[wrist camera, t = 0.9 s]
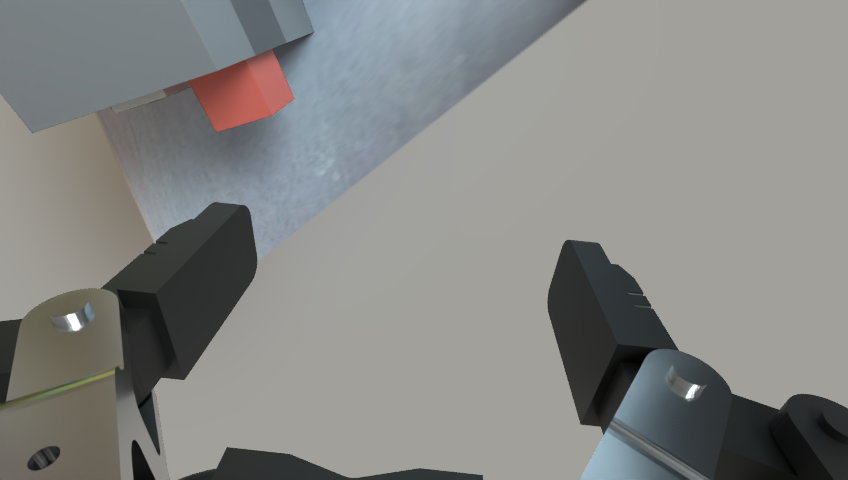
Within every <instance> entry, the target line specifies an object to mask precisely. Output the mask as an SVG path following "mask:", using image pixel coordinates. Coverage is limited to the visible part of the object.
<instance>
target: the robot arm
mask: <svg viewBox="0 0 848 480" xmlns="http://www.w3.org/2000/svg"><path fill="white" fill-rule="evenodd" d="M256 268H257V253H256V247H255V240H254V234H253V227H252V221H251V215H250V211H249V209H248V208H247V207H246V206H245V205H236V204H227V203H217V202H214V203H212V204H210V205H209V206H208V207H207V208H206V209H205V210H204V211H203V212H202V213H200V214H199V215H198V216H197V217H196V218H195V219H194V220H193V219H190V220H188V221H186V222H184V223H182V224H179V225H177V226H175V227H173V228H171V229H169V230H168V231H167V232H166V233H165V234H164V235H162V236H161V237H160V238H159V239H158V240H157V241H156V244H154V243H153V244H152V245H151V246H150V247H148V248H147V249H146V250H145V251H144V254H140V255H139V256H138V257H137V258H136V259H134V260H133V261H132V262H131V263H130V264H129V265H127V266H126V267H125V268H124V269H123V270H122V271H120V272H119V273H118V274H117V275H116V276H115V277H113V278H112V279H111V280H110V281H109V282H108V283H107V284H105V285H104V286H103V287H102V288H101V289H97V288H91V289H90V288H89V289H80V290H75V291H70V292H67V293H63V294H61V295H58V296H55V297H53V298H51V299H48V300H46V301H45V302H43V303H41V304H39V305H38V306H36V307H35V308H33V309H32V310H31V311H30V312H29V313H28V314H27V315H26V316H25V317H24V318H23V319H19V320H9V321H1V322H0V480H170V478H169V473H168V469H167V463H166V456H165V450H164V443H163V437H162V430H161V423H160V417H159V410H158V404H157V397H156V394H155V391H154V389H153V388H154V386H155V385H156V384H157V382H158V381H159V379H160V378H171V379H180V380H184V379H185V378H186V377H187V375H188V374H189V372H190V371H191V369H192V368H193V367H194V365H195V363H196V362H197V361H198V359H199V358H200V356H201V355H202V353H203V352H204V350H205V349H206V347H207V346H208V345H209V343H210V341H211V340H212V339H213V337H214V336H215V334H216V333H217V331H218V330H219V329H220V327H221V326H222V324H223V323H224V321H225V320H226V318H227V317H228V315H229V314H230V312H231V311H232V310H233V308H234V307H235V305H236V304H237V302H238V301H239V299H240V298H241V296H242V295H243V293H244V292H245V290H246V289H247V287H248V286H249V285H250V283H251V282H252V280H253V278H254V275H255V273H256ZM548 312H549V316H550V320H551V323H552V326H553V330H554V333H555V337H556V340H557V344H558V347H559V351H560V354H561V358H562V361H563V365H564V368H565V372H566V375H567V378H568V381H569V385H570V389H571V392H572V396H573V399H574V403H575V406H576V410H577V413H578V417H579V420H580V423H581V424H582V425H591V426H600V427H601V429H602V432H603V435H604V436H603V438H602V439H601V441H600V443H599V445H598V447H597V449H596V451H595V453H594V454H593V456H592V458H591V460H590V462H589V464H588V465H587V467H586V469H585V471H584V473H583V475H582V477H581V478H580V480H848V409H847V408H846V407H844V406H842V405H840V404H838V403H836V402H833V401H831V400H828V399H825V398H822V397H819V396H815V395H809V394H797V395H794V396H792V397H791V398H789V399H788V400H787V402H786V403H785V404H784V405H783V406H782V408H781V409H780V410H778V409H775V408H772V407H769V406H766V405H763V404H760V403H758V402H755V401H752V400H749V399H746V398H743V397H740V396H737V395H734V394H732V393H731V390H730V388H729V386H728V385H727V383H726V382H725V380H724V379H723V378H722V377H721V376H720V375H719V374H718V373H717V372H716V371H715V370H714V369H713V368H711V367H710V366H709V365H707V364H706V363H704V362H703V361H701V360H699V359H698V358H696V357H694V356H691V355H689V354H686V353H684V352H681V351H679V350H678V348H677V347H676V345H675V344H674V342H673V340H672V339H671V337H670V335H669V334H668V332H667V330H666V329H665V327H664V326H663V324H662V322H661V321H660V319H659V317H658V316H657V314H656V313H655V311H654V310H653V309H651V304H650V303H649V301H648V300H647V298H646V296H643V292H642V290H641V288H640V287H639V285H638V283H637V282H636V281H635V279H634V278H633V277H632V276H631V275H630V274H628V273H627V272H626V271H625V270H624V269H623V268H621V267H620V266H619V265H616V264H611V263H610V261H609V260H608V258H607V256H606V254H605V253H604V251H603V249H602V247H601V246H600V244H599V243H593V242H584V241H575V240H567V241H565V243H564V244H563V246H562V249H561V253H560V256H559V259H558V262H557V265H556V269H555V272H554V275H553V278H552V282H551V285H550V288H549V293H548ZM179 480H483V475H476V474H466V473H457V472H448V471H439V470H430V469H412V470H406V471H400V472H393V473H387V474H381V475H374V476H368V477H361V478H348V477H345V476H342V475H340V474H337V473H335V472H332V471H330V470H327V469H325V468H322V467H320V466H317V465H315V464H312V463H310V462H308V461H305V460H303V459H300V458H298V457H295V456H293V455H290V454H284V453H274V452H265V451H255V450H247V449H238V448H228V447H227V448H226V451H225V452H224V455H223V457H222V459H221V461H220V463H219V465H218V467H217V469H212V470H207V471H204V472H199V473H196V474H192V475H190V476H187V477H184V478H181V479H179Z"/></svg>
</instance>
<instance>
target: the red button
mask: <svg viewBox="0 0 848 480" xmlns="http://www.w3.org/2000/svg"><path fill="white" fill-rule="evenodd" d="M188 82H189V84H190V86H191V87H192V89H193V91H194V93H195V95H196V96H197V98H198V100H199V102H200V103H201V105H202V107H203V109H204V110H205V112H206V114H207V116H208V118H209V119H210V121H211V123H212V125H213V126H214V128H215V130H216V132H219V131H222V130H225V129H229V128H232V127H235V126H239V125H242V124H245V123H249V122H252V121H255V120H259V119H262V118H266V117H269V116H272V115H273V114H275V113H276V112H277V111H279V110H280V109H281V108H283V107H284V106H286V105H287V104H288V103H290V102H291V101H292V100H294V99H295V98H294V96H293V94H292V92H291V89H290V87H289V85H288V83H287V80H286V78H285V76H284V74H283V71H282V69H281V67H280V65H279V62H278V60H277V58H276V56H275V53H274V51H273V49H270V50H268V51H265V52H263V53H260V54H258V55H255V56H253V57H250V58H248V59H245V60H243V61H241V62H238V63H236V64H233V65H231V66H228V67H226V68H223V69H221V70H218V71H215V72H212V73H209V74H206V75H203V76H200V77H197V78H195V79H192V80H189V81H188Z"/></svg>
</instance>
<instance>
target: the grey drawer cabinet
mask: <svg viewBox="0 0 848 480" xmlns="http://www.w3.org/2000/svg"><path fill="white" fill-rule="evenodd" d="M313 32H314V30H313V27H312V25H311V22H310V20H309V17H308V14H307V12H306V9H305V7H304V4H303V2H302V0H0V93H1V95H2V96H3V97H4V98H5V100H6V101H7V102H8V103H9V105H10V106H11V107H12V108H13V110H14V111H15V112H16V113H17V115H18V116H19V117H20V118H21V120H22V121H23V122H24V123H25V125H26V126H27V127H28V128H29V130H30V131H31V132H32V133H34V132H37V131H40V130H43V129H46V128H49V127H52V126H55V125H58V124H61V123H64V122H67V121H70V120H73V119H76V118H78V117H82V116H85V115H88V114H90V113H94V112H97V111H100V110H103V109H105V108H108V107H111V106H114V105H117V104H120V103H123V102H126V101H129V100H132V99H135V98H138V97H141V96H144V95H147V94H150V93H153V92H156V91H159V90H162V89H165V88H168V87H171V86H174V85H177V84H180V83H183V82H186V81H189V80H192V79H195V78H197V77H200V76H203V75H206V74H209V73H212V72H215V71H218V70H221V69H223V68H226V67H228V66H231V65H233V64H236V63H238V62H241V61H243V60H245V59H248V58H250V57H253V56H255V55H258V54H260V53H263V52H265V51H268V50H270V49H273V48H275V47H278V46H280V45H283V44H285V43H288V42H290V41H293V40H295V39H298V38H300V37H303V36H305V35H308V34H310V33H313Z"/></svg>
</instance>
